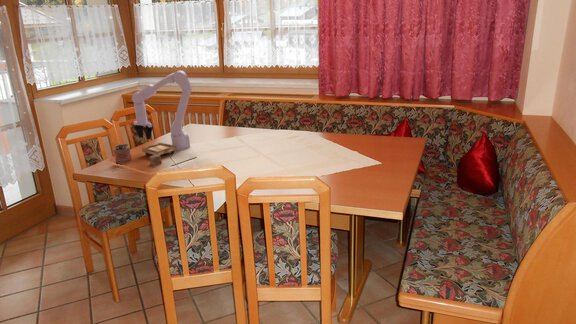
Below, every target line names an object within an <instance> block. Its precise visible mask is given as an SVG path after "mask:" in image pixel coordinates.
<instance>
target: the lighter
mask: <svg viewBox="0 0 576 324" xmlns="http://www.w3.org/2000/svg"><path fill="white" fill-rule="evenodd" d="M114 146H115V147H114V148H115V149H113V153H114V158H115V165H120V163H123V162H130V161H132V155H131V149H130V147H128V146H129V145H128V143H122V144H121V143H119V144H117V145H114Z"/></svg>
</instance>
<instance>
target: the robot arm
mask: <svg viewBox="0 0 576 324" xmlns="http://www.w3.org/2000/svg"><path fill="white" fill-rule="evenodd" d="M174 83H176V84H177V85H178V86H179V88H180V89H181V90H182V91H181V95H180V98H179V101H178V102H179V103H178V105H177V110H176V112H175V117H174V121H173V122H172V123H171V126H170V128H169V132H170V139H171V145H174V146H176V150H175V151H181V150H185V149H187V148H190V147H191V143H190V136H189V134H188V133H186V132H184V131H183V129H184V128H183V127H184V125H183V122H184V118H185V114H186V112H187V107H188V105H189V100H190V97H191V92H192V89H193V87H192V85H191V82H190V78H189V75H188V74H187V73H186V71H184V70H181V69H180V70H179V69H178V70H177V71H175V72H172V73H170V74H168V75H167V76H165V77H163V78H162V79H160V80H158V82H156V83H154V84H150V83H149V84H146V85H145V87H143V88H141V89H138V90H137V91H136V92H134V94H133V95H132V96H131V101H132V102H133V108H134V113H135V115H134V116H135V120H133V127H132V128H133V129H134V130H135V132H136V134H137V136H138V138H139V139H142V138H144V136H145V138H146V139H145V140H147V141H148V140H151V138H152V132H153V129H154V126H153V124H152V123H151V122H150V121H148V116H147V110H146V103H145V100H148V99H149V98H151V97H152V96H154V95H156V94H157V91H158V90H159V89H160V88H162V87H164V86H166V85H167V84H168V85H169V84H174Z"/></svg>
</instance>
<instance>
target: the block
mask: <svg viewBox="0 0 576 324" xmlns="http://www.w3.org/2000/svg"><path fill="white" fill-rule="evenodd" d="M148 157H149V164H150V165H152V166H157V165H160V164H162V155H153V154H152V155H150V156H148Z"/></svg>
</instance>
